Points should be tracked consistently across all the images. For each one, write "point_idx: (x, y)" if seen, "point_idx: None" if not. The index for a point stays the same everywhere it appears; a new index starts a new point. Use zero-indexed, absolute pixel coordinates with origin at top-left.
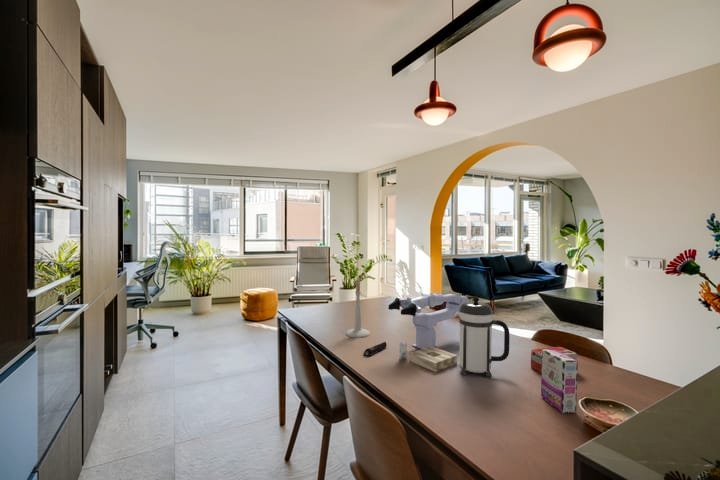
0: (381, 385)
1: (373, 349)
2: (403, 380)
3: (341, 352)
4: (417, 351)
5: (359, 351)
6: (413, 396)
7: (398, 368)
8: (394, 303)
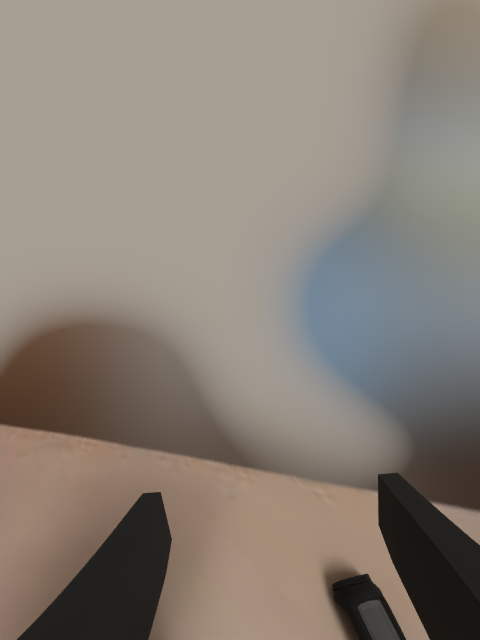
0: (124, 454)
1: (367, 633)
2: (70, 518)
3: None
4: None
5: None
6: (17, 469)
7: None
8: (454, 588)
